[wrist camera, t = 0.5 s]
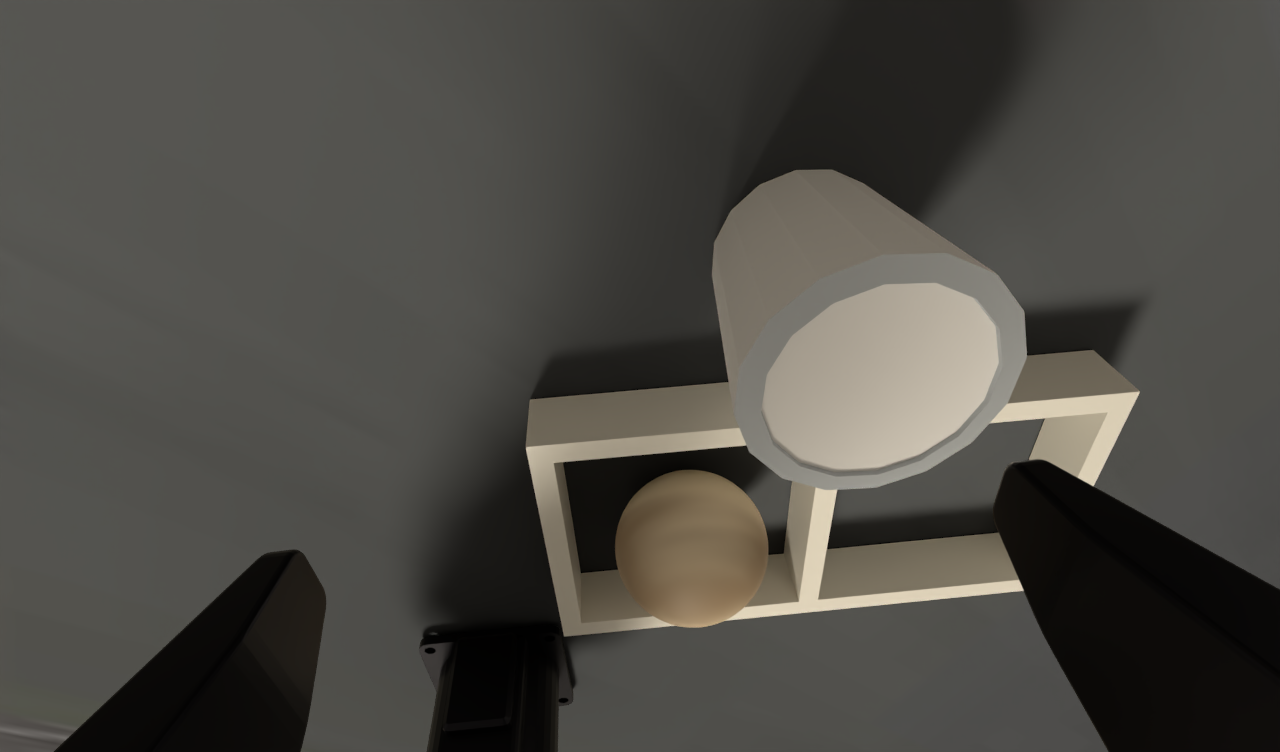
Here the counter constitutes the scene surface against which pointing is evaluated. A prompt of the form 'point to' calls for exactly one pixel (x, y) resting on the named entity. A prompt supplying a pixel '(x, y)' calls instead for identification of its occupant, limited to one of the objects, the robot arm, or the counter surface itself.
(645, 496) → the tan wooden ball
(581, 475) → the counter surface
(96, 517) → the counter surface
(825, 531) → the holder
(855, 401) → the white and grey cylinder
